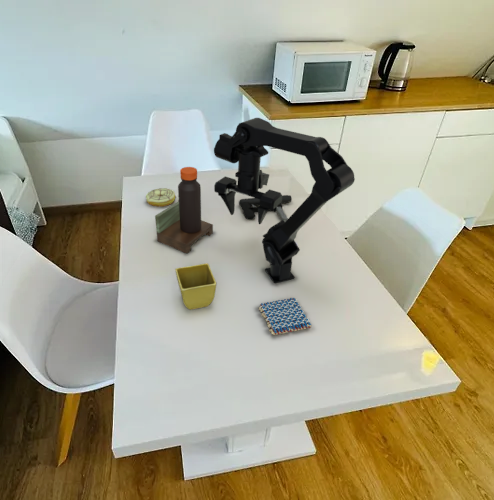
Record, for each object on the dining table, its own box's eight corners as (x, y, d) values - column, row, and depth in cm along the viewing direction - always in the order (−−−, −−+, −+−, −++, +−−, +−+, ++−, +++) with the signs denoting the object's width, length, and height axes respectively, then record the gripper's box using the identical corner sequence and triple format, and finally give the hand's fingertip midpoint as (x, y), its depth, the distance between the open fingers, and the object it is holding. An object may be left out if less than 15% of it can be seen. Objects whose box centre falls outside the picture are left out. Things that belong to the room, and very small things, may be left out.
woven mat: (294, 300, 103) (295, 295, 101) (312, 329, 94) (313, 324, 93) (257, 307, 100) (257, 301, 99) (272, 338, 92) (273, 332, 91)
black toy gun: (304, 215, 135) (288, 191, 147) (248, 220, 131) (237, 196, 143) (302, 223, 137) (287, 199, 149) (247, 228, 133) (237, 203, 146)
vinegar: (178, 224, 127) (175, 166, 115) (198, 221, 128) (197, 164, 116) (182, 235, 121) (179, 176, 110) (203, 232, 123) (202, 173, 111)
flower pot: (182, 317, 97) (181, 289, 92) (176, 294, 104) (174, 267, 99) (216, 310, 99) (217, 283, 94) (208, 288, 106) (208, 262, 101)
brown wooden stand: (212, 233, 129) (212, 208, 123) (187, 253, 119) (185, 227, 114) (184, 222, 134) (183, 198, 129) (157, 241, 125) (154, 215, 119)
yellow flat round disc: (148, 195, 150) (147, 186, 148) (176, 195, 151) (175, 186, 148) (144, 208, 142) (143, 199, 140) (174, 208, 142) (173, 199, 140)
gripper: (294, 166, 104) (287, 216, 113) (235, 151, 112) (233, 199, 121) (275, 181, 96) (269, 233, 105) (213, 163, 104) (213, 214, 113)
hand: (245, 218), depth 111 cm, fingers open, 9 cm apart
